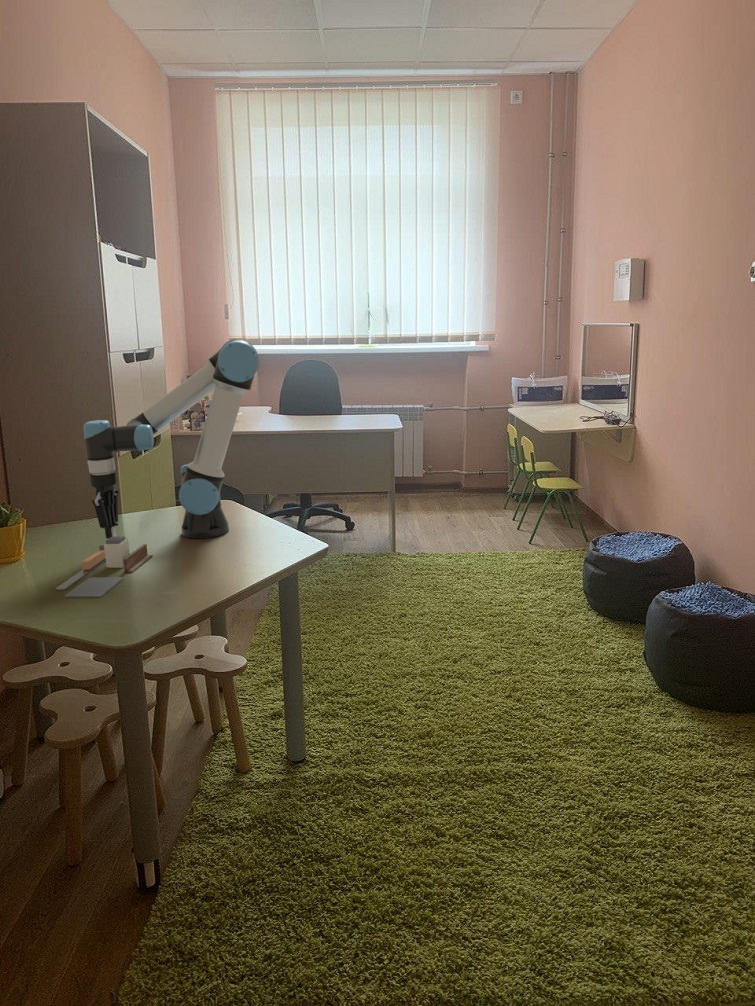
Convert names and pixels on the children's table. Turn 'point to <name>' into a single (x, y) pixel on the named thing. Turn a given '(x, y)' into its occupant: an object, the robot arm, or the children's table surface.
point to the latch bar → (94, 559)
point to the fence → (136, 559)
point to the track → (77, 577)
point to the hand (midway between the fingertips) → (112, 547)
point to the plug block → (116, 551)
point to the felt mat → (94, 587)
